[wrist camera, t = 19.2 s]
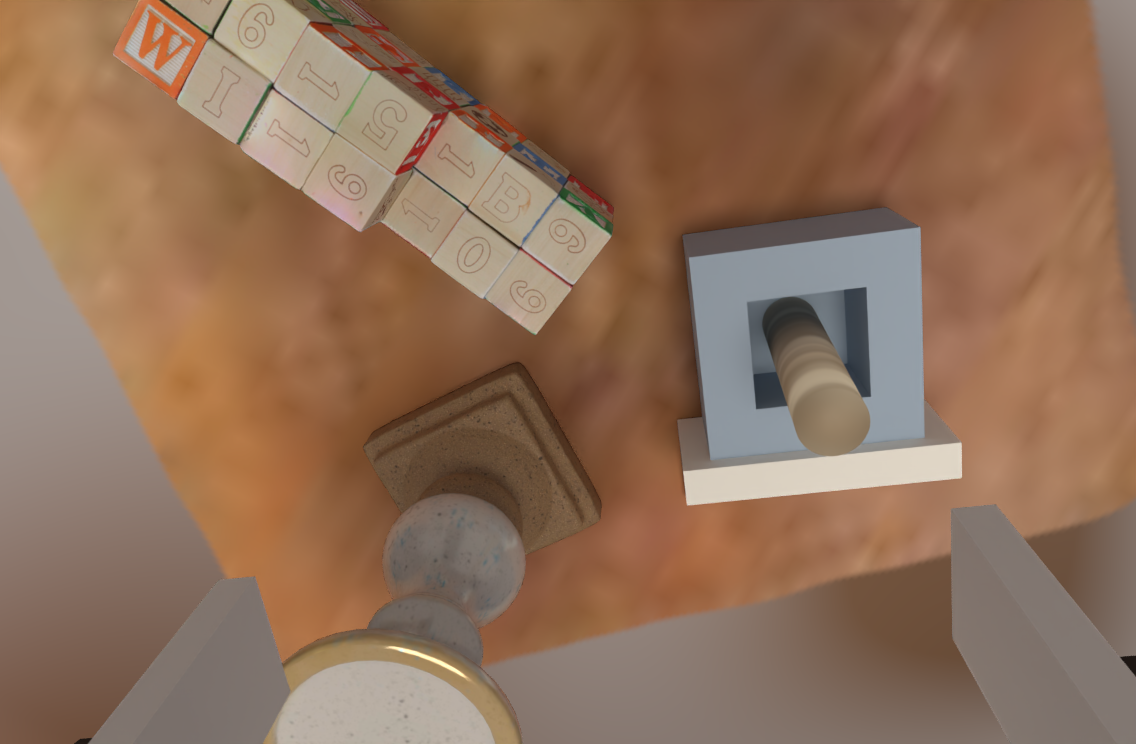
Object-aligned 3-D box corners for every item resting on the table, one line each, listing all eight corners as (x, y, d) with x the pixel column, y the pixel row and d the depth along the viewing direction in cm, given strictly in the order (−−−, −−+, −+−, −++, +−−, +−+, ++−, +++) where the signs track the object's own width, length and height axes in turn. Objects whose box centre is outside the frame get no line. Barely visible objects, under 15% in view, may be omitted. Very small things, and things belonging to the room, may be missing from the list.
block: (682, 234, 49) (688, 257, 43) (886, 207, 47) (920, 227, 42) (702, 417, 52) (710, 460, 47) (892, 395, 51) (924, 437, 45)
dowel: (760, 300, 49) (792, 392, 36) (815, 294, 48) (869, 385, 35) (764, 350, 50) (797, 459, 37) (818, 345, 49) (871, 453, 36)
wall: (676, 419, 52) (683, 471, 46) (919, 392, 51) (961, 442, 44) (685, 494, 54) (693, 554, 48) (920, 470, 52) (962, 529, 46)
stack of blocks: (618, 205, 49) (613, 251, 37) (551, 292, 51) (526, 361, 39) (292, -49, 45) (176, -86, 34) (234, 54, 47) (105, 52, 36)
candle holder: (521, 358, 52) (435, 586, 29) (605, 507, 55) (586, 817, 32) (366, 433, 54) (178, 697, 32) (455, 572, 57) (341, 904, 35)
